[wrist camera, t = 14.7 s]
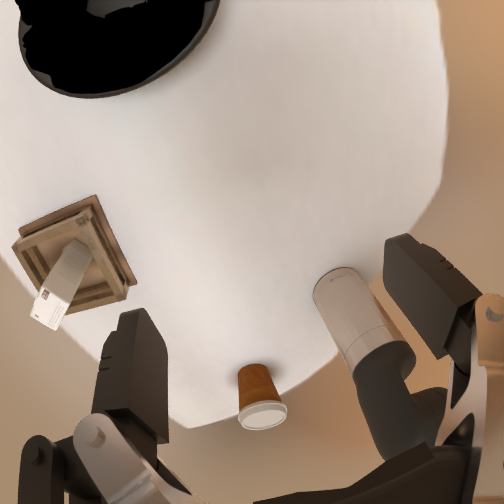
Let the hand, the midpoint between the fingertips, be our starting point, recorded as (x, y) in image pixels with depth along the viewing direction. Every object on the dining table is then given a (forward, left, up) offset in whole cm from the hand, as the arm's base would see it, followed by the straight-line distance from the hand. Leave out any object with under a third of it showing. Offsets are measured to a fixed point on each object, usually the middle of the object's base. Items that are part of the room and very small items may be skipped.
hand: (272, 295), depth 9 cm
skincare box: (-10, +24, -30) cm, 40 cm away
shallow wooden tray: (-10, +25, -30) cm, 40 cm away
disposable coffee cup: (-47, +5, -30) cm, 56 cm away
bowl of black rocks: (+18, +6, -30) cm, 36 cm away
